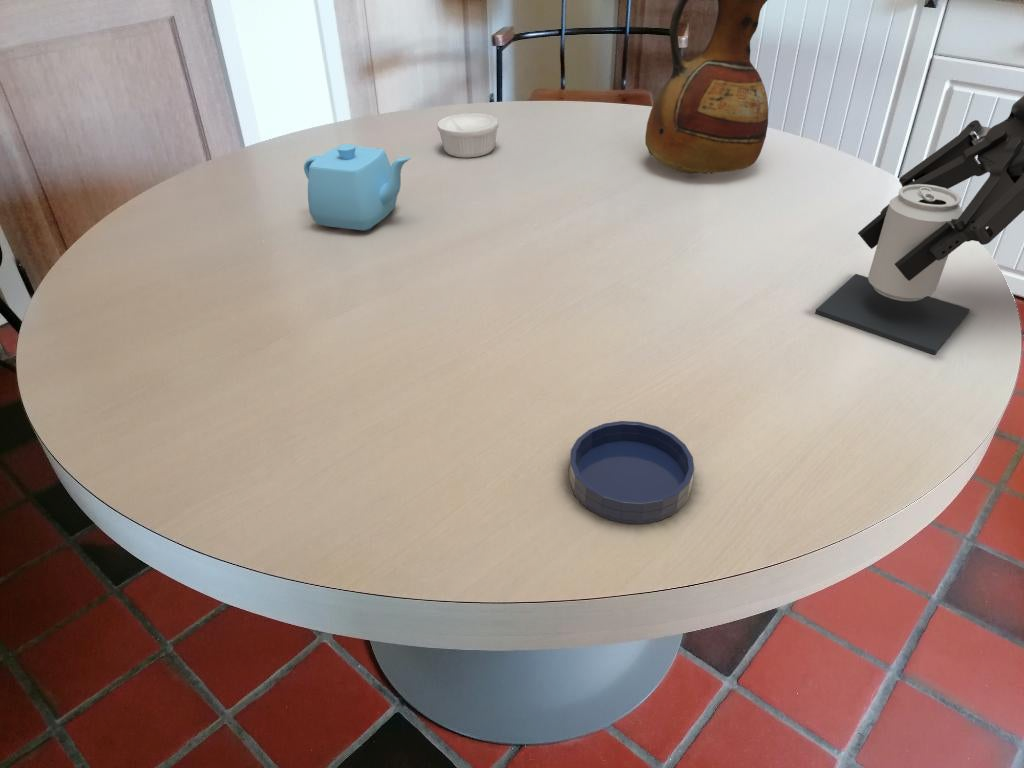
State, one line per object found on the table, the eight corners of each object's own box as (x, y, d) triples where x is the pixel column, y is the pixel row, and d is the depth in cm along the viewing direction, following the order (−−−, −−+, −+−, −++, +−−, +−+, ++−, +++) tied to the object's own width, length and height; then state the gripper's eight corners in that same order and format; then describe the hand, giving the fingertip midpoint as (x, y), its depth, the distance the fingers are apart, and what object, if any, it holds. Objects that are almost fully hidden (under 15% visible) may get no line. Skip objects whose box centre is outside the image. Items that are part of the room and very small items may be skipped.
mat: (968, 313, 91) (970, 308, 91) (934, 355, 84) (936, 350, 84) (854, 277, 99) (855, 273, 99) (814, 313, 92) (815, 309, 92)
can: (879, 305, 87) (909, 207, 80) (856, 274, 93) (882, 180, 86) (945, 304, 87) (981, 206, 80) (917, 273, 93) (949, 179, 86)
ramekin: (427, 152, 142) (424, 123, 139) (467, 136, 149) (465, 109, 146) (471, 164, 136) (469, 135, 133) (510, 147, 143) (510, 119, 140)
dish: (713, 475, 69) (717, 455, 68) (645, 544, 63) (648, 523, 61) (616, 426, 75) (617, 406, 74) (545, 483, 69) (545, 463, 68)
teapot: (401, 243, 110) (392, 166, 104) (293, 229, 115) (278, 155, 108) (433, 210, 120) (427, 138, 113) (333, 198, 125) (321, 129, 118)
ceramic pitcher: (765, 189, 124) (803, -15, 106) (642, 184, 127) (658, -15, 109) (753, 148, 139) (784, -35, 122) (643, 145, 142) (658, -34, 125)
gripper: (1160, 160, 72) (949, 319, 80) (1018, 100, 89) (854, 237, 97) (1136, 107, 69) (917, 279, 77) (993, 55, 85) (824, 201, 93)
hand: (882, 256), depth 87 cm, fingers closed on can, 7 cm apart
